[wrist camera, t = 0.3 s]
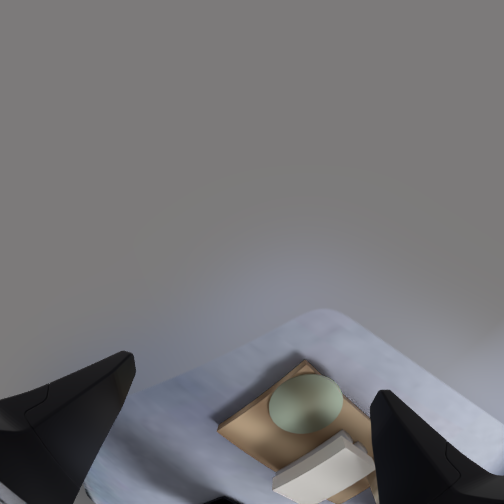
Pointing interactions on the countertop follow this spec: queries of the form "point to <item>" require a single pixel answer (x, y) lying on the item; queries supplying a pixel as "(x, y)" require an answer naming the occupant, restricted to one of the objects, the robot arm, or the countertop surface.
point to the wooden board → (298, 422)
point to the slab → (324, 470)
